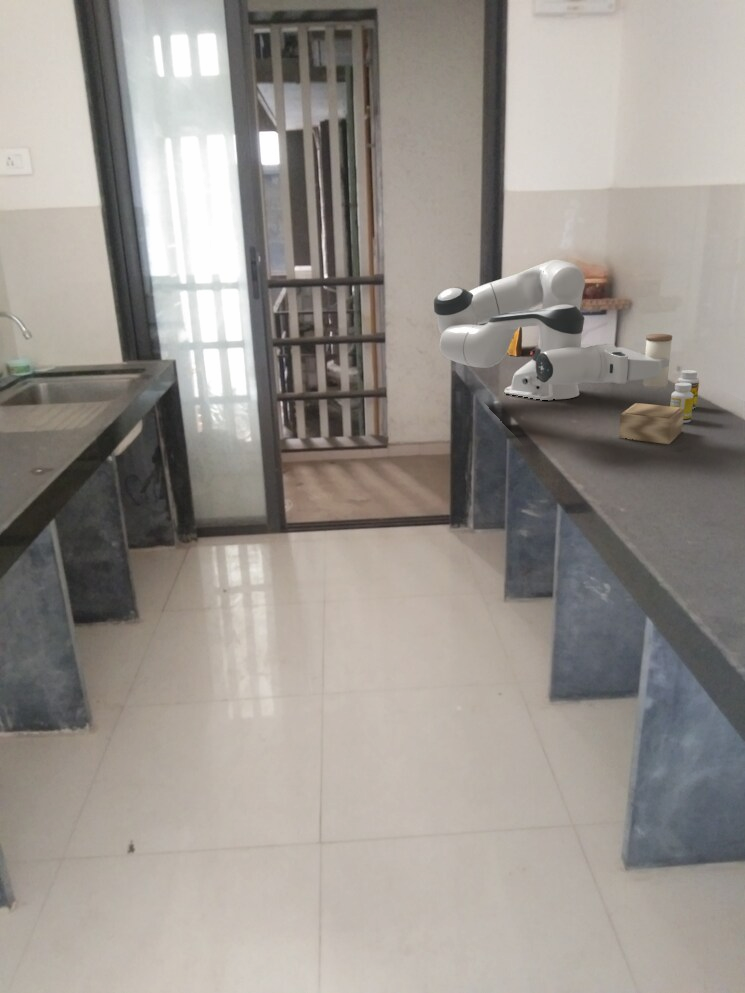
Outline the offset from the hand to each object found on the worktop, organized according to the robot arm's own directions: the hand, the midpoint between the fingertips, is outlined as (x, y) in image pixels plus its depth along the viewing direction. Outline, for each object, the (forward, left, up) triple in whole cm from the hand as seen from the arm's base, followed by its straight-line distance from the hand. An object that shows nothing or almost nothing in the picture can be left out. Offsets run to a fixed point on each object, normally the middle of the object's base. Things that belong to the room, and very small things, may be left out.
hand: (660, 359), depth 186 cm
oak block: (-1, -1, -19) cm, 19 cm away
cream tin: (-1, -1, -6) cm, 6 cm away
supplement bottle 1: (0, +29, -19) cm, 35 cm away
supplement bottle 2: (+2, +15, -19) cm, 25 cm away
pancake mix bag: (-78, +87, -19) cm, 119 cm away
